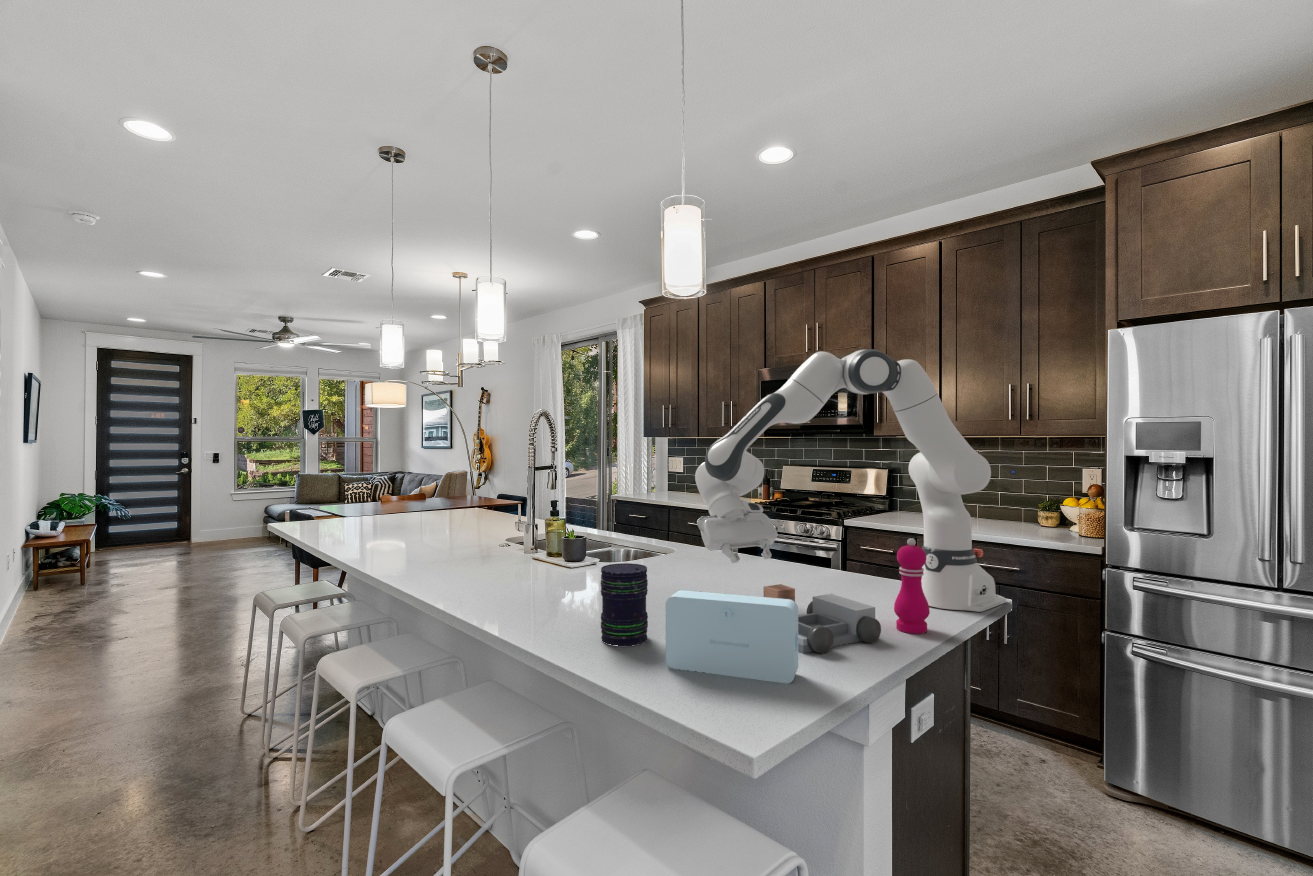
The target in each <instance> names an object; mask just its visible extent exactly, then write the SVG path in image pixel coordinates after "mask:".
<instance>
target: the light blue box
mask: <svg viewBox="0 0 1313 876" xmlns="http://www.w3.org/2000/svg"><path fill="white" fill-rule="evenodd" d="M798 616H799V606H798V604H797V602H796V601H795V602H794V601H793V600H790V599H780V598H768V597H764V596H756V595H755V596H754V595H745V594H744V595H743V594H742V595H741V594H728V593H718V592H707V591H693V590H683V589H682V590H678V591H676V592H675V593H673V594H672V595H671V596H670V597H668V598H667V599H666V601H665V663H666V665H667V667H669V668H670V669H672V668H673V669H672V670H679V669H680V671H687V670H689V671H688V672H694V671H697V672H696V673H702V672H705V673H704V674H710V673H711V675H712V674H713V675H719V676H727V677H733V678H742V679H750V680H758V681H766V682H774V683H781V684H791V683H792V682H793V681H794V679H795V676H796V674H797V672H798V668H799V651H798Z"/></svg>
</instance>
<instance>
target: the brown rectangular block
mask: <svg viewBox="0 0 1313 876" xmlns="http://www.w3.org/2000/svg"><path fill="white" fill-rule="evenodd" d="M763 597H768V598H780V599H790V600H793V601H794V602H795V603H796V588H794V587H791V586H788V585H784V584H782V583H781V584H773V585H766V586H763Z"/></svg>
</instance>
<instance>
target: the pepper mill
mask: <svg viewBox="0 0 1313 876" xmlns="http://www.w3.org/2000/svg"><path fill="white" fill-rule="evenodd" d="M906 544H907V545H906ZM906 544H905V545H903V546H901V547H899V549H898V551H897V553H896V560H897V562H898V563H899V565H900V567H899V568H898V569H899V574H900V575H901V586H900V590H899V592H898V594H897V596H896V598H895V601H894V605H893V611H894V614H895V615H896V616H897V617H898V619H896V629H897V631H899V630H900V632H902V631H903V632H902V633H905V632H907V633H906V634H911V633H915V634H914V635H921V634H920V633H922V634H925V632H926V633H927V632H928V622H927V621H926V619H927V618H929V615H930V606H929V605H928V602H927V600H926V597H925V595H924V593H923V589H922V582H921V580H922V576H923V575H924V573H923V571H924V569H923V568H922V567H923V565H924V564H925V563H926V554H925V552H924V550H923V549H922V547H920V546H917V545H916V544H917V542H916V539H914V538H911V537H910V538H908V539H907V541H906Z"/></svg>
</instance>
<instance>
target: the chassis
mask: <svg viewBox="0 0 1313 876" xmlns="http://www.w3.org/2000/svg"><path fill="white" fill-rule="evenodd" d="M806 608H807V609H806V614H801V615H798V653H801V654H807V653H810V651H812V652H816V653H818V654H822V655H823V653H824V654H826V653H828V652H829V651H830V650H831V649H832V648H834V647H833V646H836V647H839V646H838V645H840V646H844V645H843V644H845V645H849V644H848V643H850V644H854V643H853V642H855V643H858V641H860V642H865V643H868V644H873V643H872V642H874V643H876V642H877V641H878V640H879V638H880V636H881V633H882V625H881V623H880V621H879V620H878V619H877V618H876V607H875V606H873V605H869V604H866V603H863V602H859V601H855V600H852V599H850V598H846V597H843V596H839V595H836V594H835V593H834V594H833V593H828V594H821V595H813V596H812V600H811V601H810V603H809V604H808V605H807V607H806Z"/></svg>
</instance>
